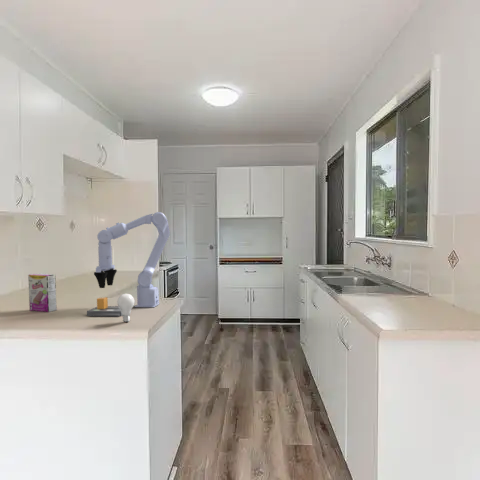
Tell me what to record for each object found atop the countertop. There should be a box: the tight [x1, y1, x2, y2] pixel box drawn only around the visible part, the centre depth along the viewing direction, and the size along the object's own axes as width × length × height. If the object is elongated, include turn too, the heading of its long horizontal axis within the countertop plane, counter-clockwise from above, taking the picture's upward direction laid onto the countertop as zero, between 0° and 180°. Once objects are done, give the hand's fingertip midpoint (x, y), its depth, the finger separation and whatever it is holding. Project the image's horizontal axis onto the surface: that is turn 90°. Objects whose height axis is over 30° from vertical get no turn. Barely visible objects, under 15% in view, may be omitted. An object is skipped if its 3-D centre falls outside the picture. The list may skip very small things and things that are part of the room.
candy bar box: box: [27, 273, 57, 313], centre depth 174 cm, size 11×5×16 cm, turn 71°
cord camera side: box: [90, 313, 121, 318], centre depth 160 cm, size 13×1×1 cm, turn 83°
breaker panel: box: [86, 305, 123, 317], centre depth 166 cm, size 15×10×2 cm, turn 83°
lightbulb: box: [116, 293, 135, 323], centre depth 149 cm, size 6×6×11 cm
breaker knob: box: [96, 296, 109, 309], centre depth 166 cm, size 3×4×4 cm
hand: (106, 286), depth 176 cm, fingers open, 7 cm apart
